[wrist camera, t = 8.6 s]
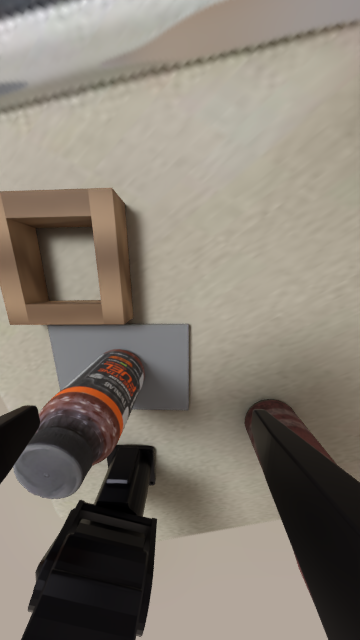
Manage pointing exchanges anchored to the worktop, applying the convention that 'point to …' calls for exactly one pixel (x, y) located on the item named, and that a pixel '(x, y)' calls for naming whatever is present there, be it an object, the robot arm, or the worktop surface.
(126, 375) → the supplement bottle
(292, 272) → the worktop surface
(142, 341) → the grey rubber mat
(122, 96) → the worktop surface
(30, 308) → the walnut holder
